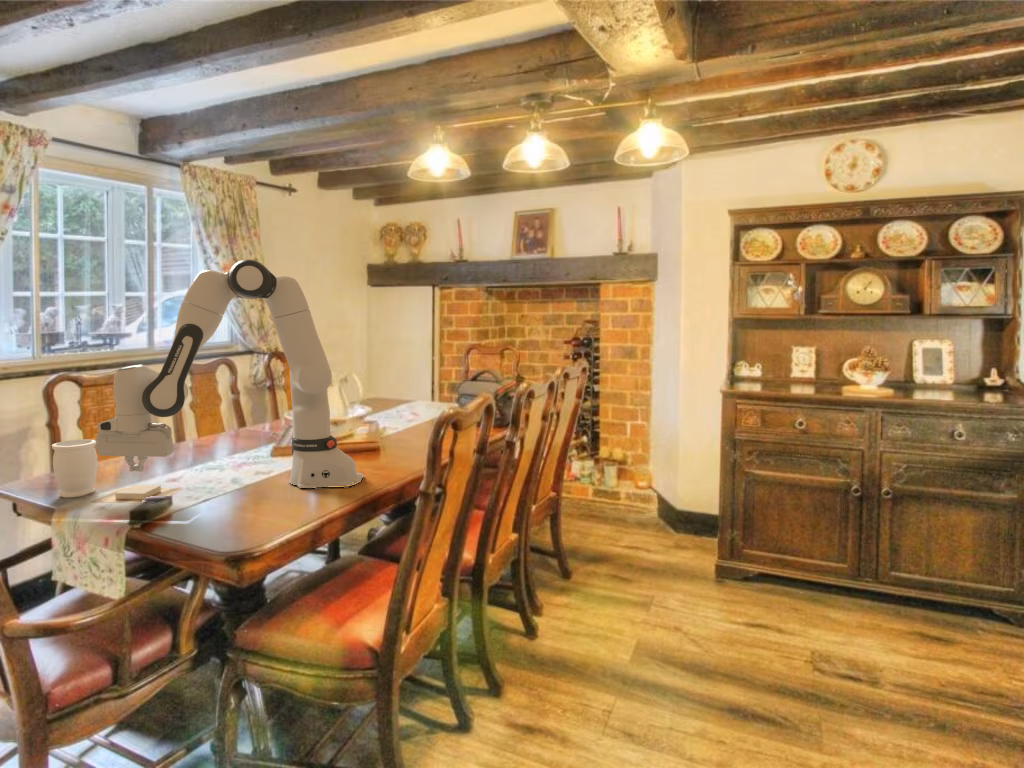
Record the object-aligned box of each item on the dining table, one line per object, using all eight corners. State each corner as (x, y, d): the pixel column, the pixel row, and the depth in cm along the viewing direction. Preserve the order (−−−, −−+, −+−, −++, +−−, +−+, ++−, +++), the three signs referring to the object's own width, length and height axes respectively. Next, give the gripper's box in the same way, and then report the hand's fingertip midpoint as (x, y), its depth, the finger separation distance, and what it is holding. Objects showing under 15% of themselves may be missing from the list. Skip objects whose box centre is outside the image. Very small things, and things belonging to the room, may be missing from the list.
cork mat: (183, 490, 183) (183, 488, 183) (155, 505, 169) (154, 503, 169) (123, 489, 184) (123, 487, 184) (90, 504, 170) (89, 502, 170)
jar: (73, 488, 184) (70, 438, 183) (107, 489, 184) (104, 439, 182) (45, 499, 174) (41, 446, 172) (82, 499, 173) (78, 447, 172)
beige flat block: (160, 485, 180) (133, 485, 180) (143, 493, 172) (115, 493, 172) (161, 491, 180) (133, 490, 180) (144, 499, 172) (115, 499, 172)
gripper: (177, 421, 177) (179, 469, 178) (106, 420, 177) (109, 467, 179) (164, 425, 171) (166, 474, 172) (90, 424, 171) (94, 473, 173)
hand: (136, 471), depth 176 cm, fingers closed
